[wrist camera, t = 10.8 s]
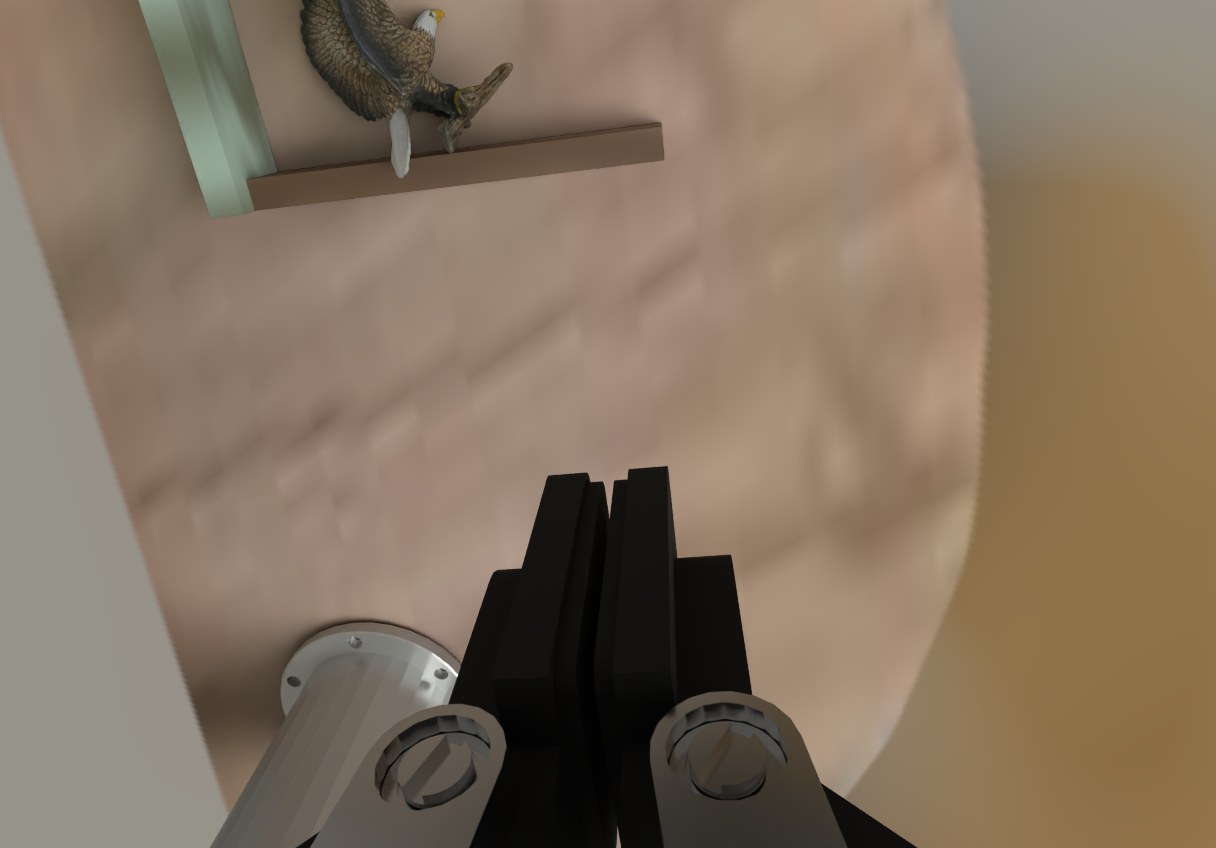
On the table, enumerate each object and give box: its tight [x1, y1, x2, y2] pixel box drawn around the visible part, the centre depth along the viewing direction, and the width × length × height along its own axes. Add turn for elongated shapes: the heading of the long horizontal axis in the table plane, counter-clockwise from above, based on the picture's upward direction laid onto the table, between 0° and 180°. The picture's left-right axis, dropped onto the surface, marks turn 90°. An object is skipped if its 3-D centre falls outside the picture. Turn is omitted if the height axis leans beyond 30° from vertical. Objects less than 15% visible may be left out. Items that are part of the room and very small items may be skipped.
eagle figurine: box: [300, 0, 513, 178], centre depth 30 cm, size 8×7×9 cm
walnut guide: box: [138, 0, 664, 218], centre depth 31 cm, size 12×20×4 cm, turn 97°
